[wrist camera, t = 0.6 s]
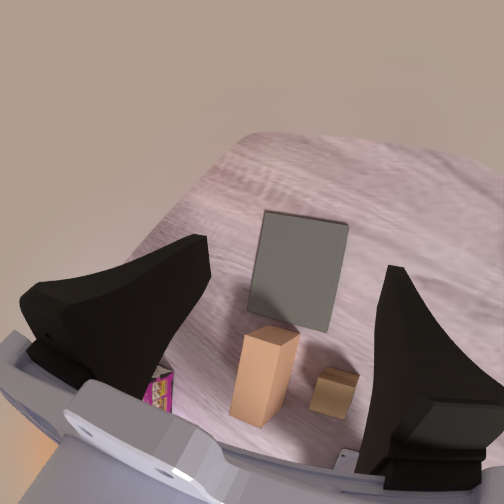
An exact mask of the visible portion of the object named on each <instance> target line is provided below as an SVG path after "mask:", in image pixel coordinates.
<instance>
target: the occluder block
mask: <svg viewBox="0 0 504 504" xmlns="http://www.w3.org/2000/svg"><path fill="white" fill-rule="evenodd" d="M299 338H300V333H297V332H293V331H290V330H286V329H283V328H280V327H276V326H273V325H267V326H265V327H262V328H260V329H258V330H255V331H253V332H250V333H248V334H245V337H244V342H243V347H242V352H241V357H240V362H239V367H238V372H237V378H236V383H235V388H234V393H233V398H232V403H231V408H230V413H229V415H230V416H232V417H235V418H237V419H239V420H242V421H244V422H247V423H249V424H251V425H254V426H256V427H259V428H262V427H263V426H264V425H265V424H266V423H267V422H268V421H269V420H270V419H271V418H272V417H273V416H274V415H275V414H276V413H277V412H278V411H279V409H280V408H281V407H282V406H283V402H284V398H285V395H286V391H287V387H288V383H289V379H290V375H291V371H292V367H293V363H294V359H295V355H296V351H297V347H298V343H299Z"/></svg>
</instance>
